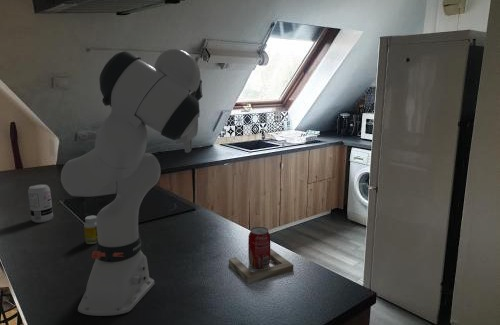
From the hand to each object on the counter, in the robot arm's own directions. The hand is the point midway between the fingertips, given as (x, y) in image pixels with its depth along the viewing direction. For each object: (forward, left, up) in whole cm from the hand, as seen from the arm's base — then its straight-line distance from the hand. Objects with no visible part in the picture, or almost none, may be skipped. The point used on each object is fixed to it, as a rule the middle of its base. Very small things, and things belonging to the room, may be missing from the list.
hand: (188, 151), depth 131 cm
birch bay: (-19, -26, -34) cm, 47 cm away
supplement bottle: (0, +37, -34) cm, 51 cm away
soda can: (-17, -25, -34) cm, 46 cm away
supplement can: (+22, +69, -34) cm, 80 cm away
